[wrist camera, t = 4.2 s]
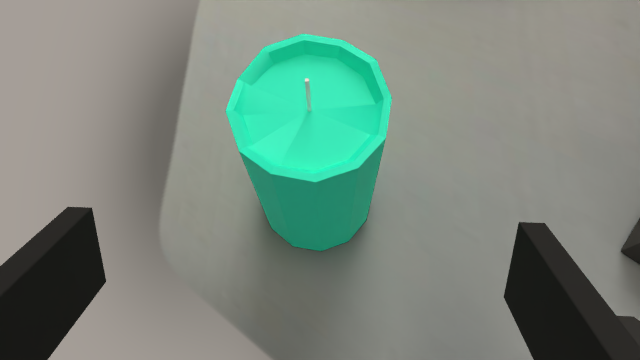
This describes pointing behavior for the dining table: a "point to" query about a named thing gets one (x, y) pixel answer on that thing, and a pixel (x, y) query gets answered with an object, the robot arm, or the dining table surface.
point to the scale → (633, 244)
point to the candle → (312, 136)
